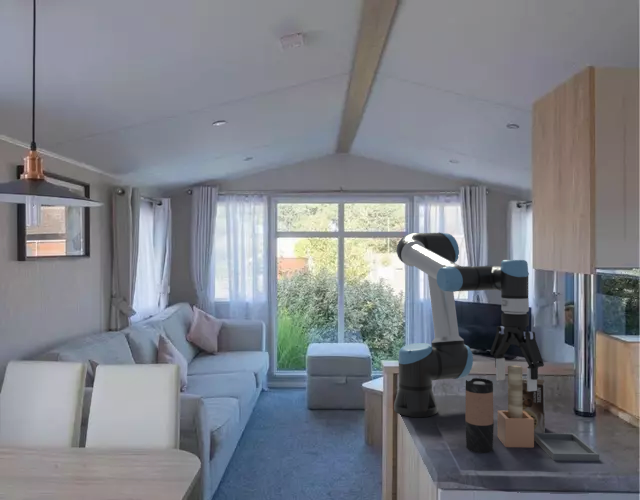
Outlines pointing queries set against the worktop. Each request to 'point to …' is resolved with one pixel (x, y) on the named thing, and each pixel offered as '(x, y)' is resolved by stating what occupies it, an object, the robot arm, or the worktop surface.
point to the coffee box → (534, 404)
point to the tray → (565, 447)
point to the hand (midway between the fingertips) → (515, 385)
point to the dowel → (515, 392)
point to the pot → (515, 430)
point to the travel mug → (479, 415)
